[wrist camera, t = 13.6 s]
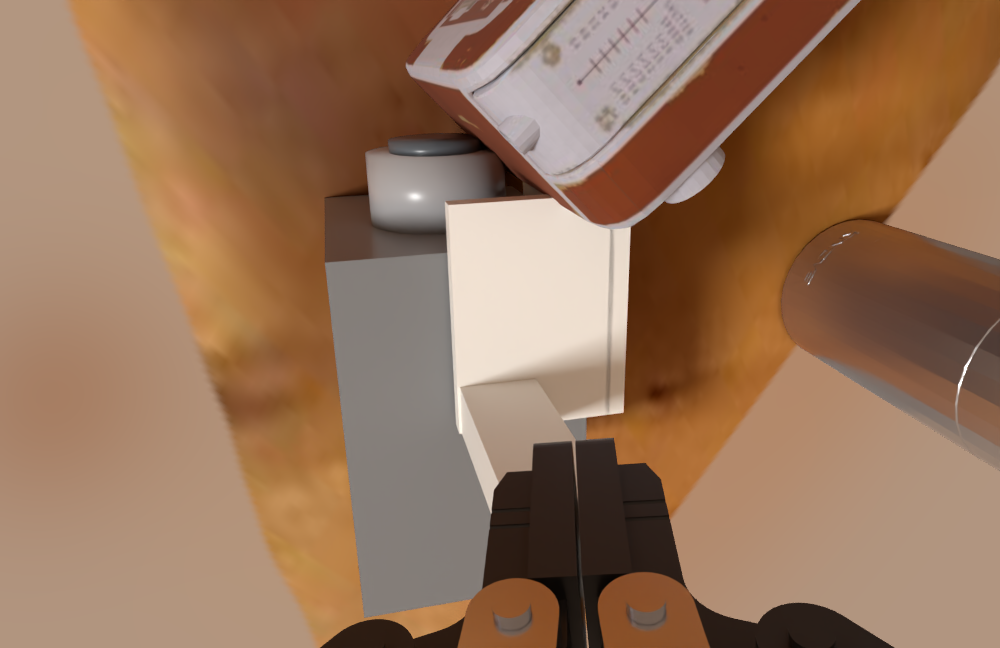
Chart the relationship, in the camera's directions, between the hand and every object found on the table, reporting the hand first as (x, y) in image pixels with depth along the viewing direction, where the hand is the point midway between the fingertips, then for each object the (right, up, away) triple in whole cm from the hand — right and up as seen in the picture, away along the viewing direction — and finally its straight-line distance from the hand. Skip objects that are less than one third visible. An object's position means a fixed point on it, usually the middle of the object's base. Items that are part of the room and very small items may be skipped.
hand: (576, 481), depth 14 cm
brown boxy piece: (+2, +21, +24) cm, 32 cm away
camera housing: (-6, +4, +28) cm, 29 cm away
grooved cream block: (-3, +8, +26) cm, 27 cm away
